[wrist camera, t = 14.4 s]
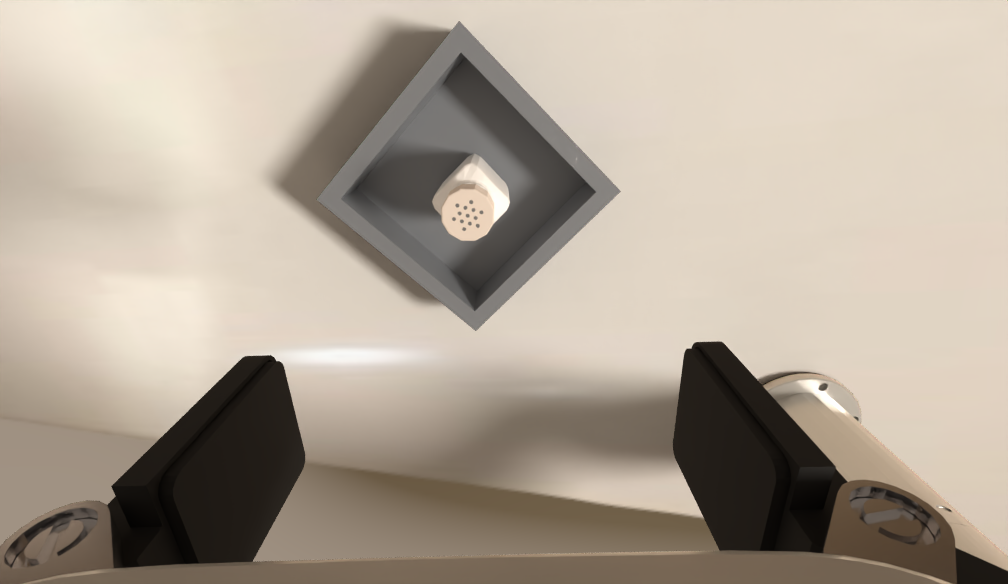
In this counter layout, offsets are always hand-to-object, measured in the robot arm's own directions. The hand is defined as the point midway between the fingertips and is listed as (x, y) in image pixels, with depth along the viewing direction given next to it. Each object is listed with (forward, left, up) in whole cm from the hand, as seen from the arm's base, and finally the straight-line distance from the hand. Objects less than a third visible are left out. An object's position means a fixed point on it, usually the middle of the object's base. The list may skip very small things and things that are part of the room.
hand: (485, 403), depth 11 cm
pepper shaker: (+1, +1, -28) cm, 28 cm away
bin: (+2, +1, -29) cm, 29 cm away
